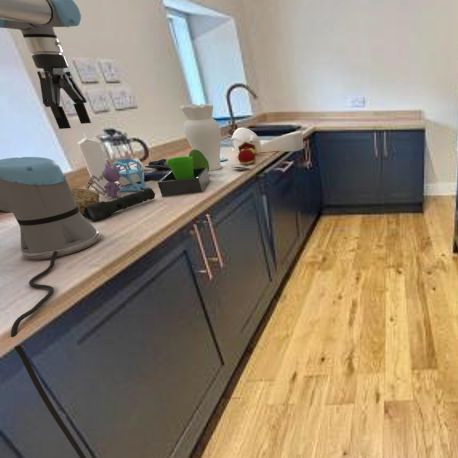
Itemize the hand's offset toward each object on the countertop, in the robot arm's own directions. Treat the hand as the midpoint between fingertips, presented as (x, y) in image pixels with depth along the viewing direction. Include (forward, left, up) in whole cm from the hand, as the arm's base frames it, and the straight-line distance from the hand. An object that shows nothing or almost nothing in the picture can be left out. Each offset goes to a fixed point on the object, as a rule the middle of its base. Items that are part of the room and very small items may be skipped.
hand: (76, 125), depth 116 cm
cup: (+7, -25, -26) cm, 37 cm away
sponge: (-8, +3, -27) cm, 28 cm away
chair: (+14, -5, -27) cm, 30 cm away
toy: (+61, -31, -26) cm, 73 cm away
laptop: (+29, -43, -27) cm, 58 cm away
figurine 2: (+52, -45, -22) cm, 72 cm away
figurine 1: (+4, -1, -26) cm, 26 cm away
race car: (+35, -10, -24) cm, 44 cm away
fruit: (+24, -27, -27) cm, 45 cm away
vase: (+38, -29, -27) cm, 55 cm away
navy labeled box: (+36, -9, -25) cm, 45 cm away
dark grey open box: (+7, -25, -27) cm, 37 cm away
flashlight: (-13, -10, -27) cm, 32 cm away
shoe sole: (+70, -56, -29) cm, 94 cm away
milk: (+18, +7, -27) cm, 33 cm away
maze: (+5, +3, -22) cm, 23 cm away
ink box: (+21, -1, -24) cm, 32 cm away
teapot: (+64, -48, -17) cm, 82 cm away
